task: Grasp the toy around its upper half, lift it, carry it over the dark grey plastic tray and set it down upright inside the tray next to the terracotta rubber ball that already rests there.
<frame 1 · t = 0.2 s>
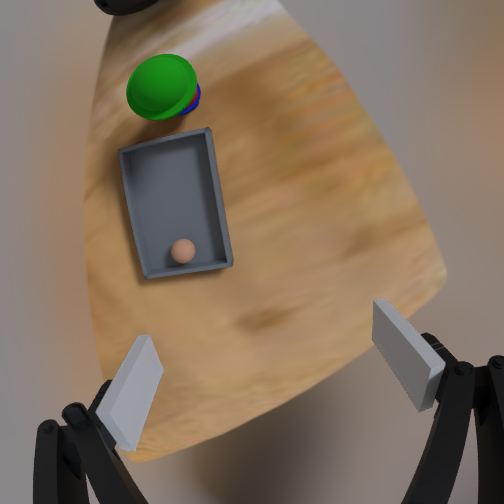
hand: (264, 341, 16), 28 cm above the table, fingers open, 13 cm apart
ball: (185, 247, 42), point 1 cm above the table, touching tray
tray: (177, 203, 41), on the table
toy: (183, 107, 37), on the table
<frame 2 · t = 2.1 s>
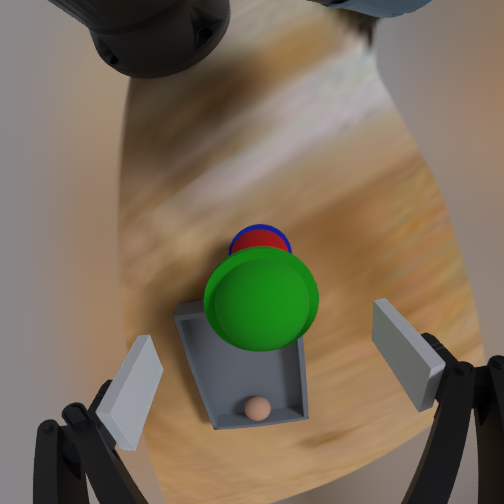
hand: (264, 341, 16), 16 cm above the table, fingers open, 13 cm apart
ball: (257, 399, 36), point 1 cm above the table, touching tray
tray: (249, 362, 35), on the table
toy: (256, 253, 31), on the table
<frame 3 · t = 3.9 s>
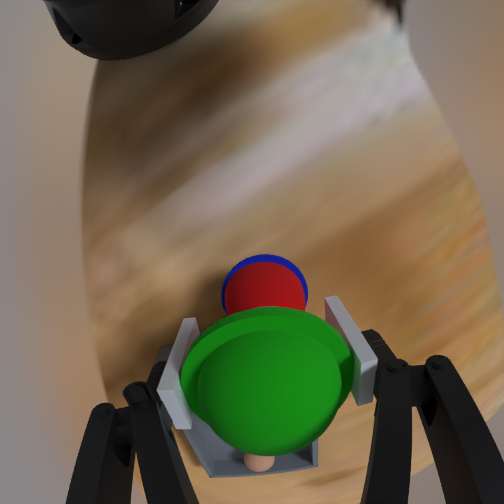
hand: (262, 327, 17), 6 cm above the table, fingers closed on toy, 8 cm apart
ball: (258, 447, 28), point 1 cm above the table, touching tray
tray: (249, 410, 27), on the table
toy: (258, 287, 23), on the table, touching gripper
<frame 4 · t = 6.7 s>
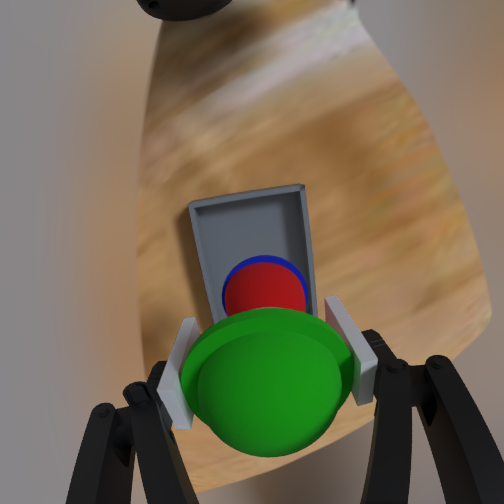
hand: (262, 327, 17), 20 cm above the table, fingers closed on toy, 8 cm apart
tray: (257, 266, 37), on the table
toy: (258, 287, 23), point 14 cm above the table, touching gripper
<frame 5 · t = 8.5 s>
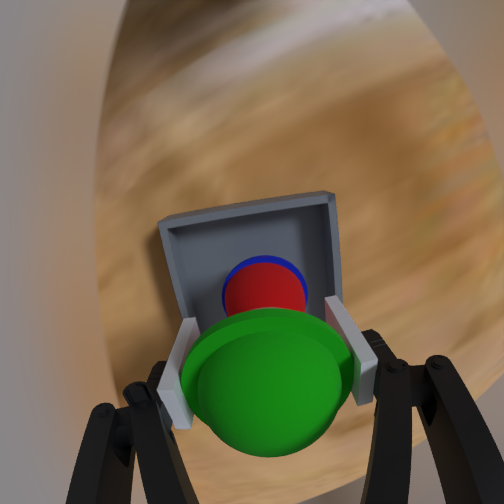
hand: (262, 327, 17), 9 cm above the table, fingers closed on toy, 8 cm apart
tray: (262, 307, 26), on the table
toy: (258, 287, 23), point 2 cm above the table, touching gripper
when the fingers open (8 cm above the table, at t = 9.6 s): toy stays where it is, resting on tray.
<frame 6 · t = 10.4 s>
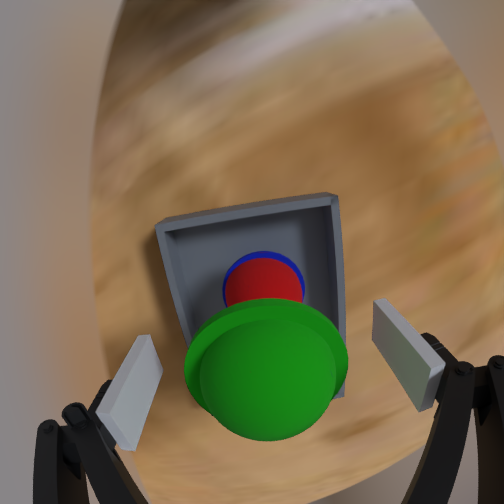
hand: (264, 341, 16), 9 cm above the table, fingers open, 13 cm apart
tray: (263, 311, 25), on the table
toy: (257, 283, 24), resting on tray
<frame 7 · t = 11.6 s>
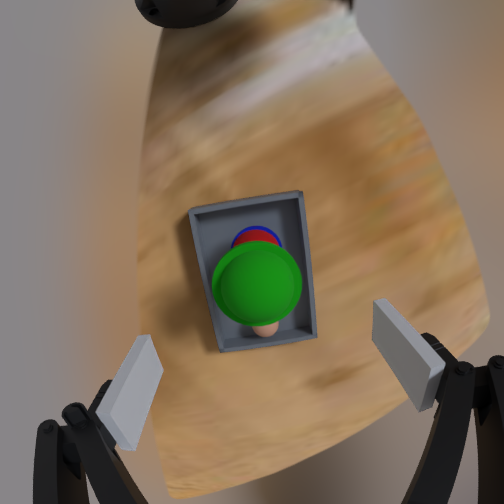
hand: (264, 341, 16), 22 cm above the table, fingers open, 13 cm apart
ball: (264, 317, 39), point 1 cm above the table, touching tray
tray: (257, 271, 38), on the table
toy: (253, 250, 37), resting on tray
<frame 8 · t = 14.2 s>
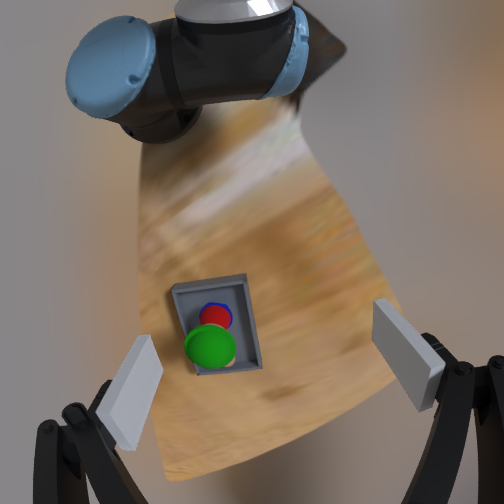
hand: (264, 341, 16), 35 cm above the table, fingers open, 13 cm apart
ball: (226, 353, 56), point 1 cm above the table, touching tray
tray: (220, 324, 54), on the table
toy: (216, 312, 53), resting on tray
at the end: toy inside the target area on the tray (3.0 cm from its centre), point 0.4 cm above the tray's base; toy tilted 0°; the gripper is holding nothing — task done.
